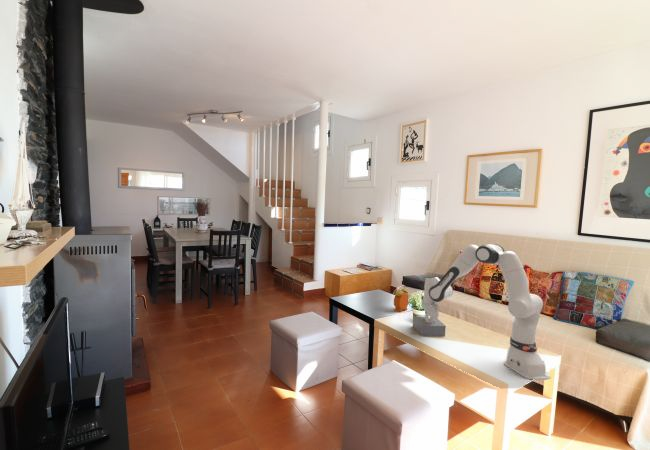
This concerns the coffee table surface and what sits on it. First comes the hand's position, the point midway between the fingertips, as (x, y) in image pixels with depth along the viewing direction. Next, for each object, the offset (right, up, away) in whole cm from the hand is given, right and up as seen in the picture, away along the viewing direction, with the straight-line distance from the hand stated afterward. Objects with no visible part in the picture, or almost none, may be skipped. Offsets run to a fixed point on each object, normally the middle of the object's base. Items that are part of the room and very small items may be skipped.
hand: (429, 319), depth 221 cm
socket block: (0, -8, +1) cm, 8 cm away
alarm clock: (-10, -5, +41) cm, 42 cm away
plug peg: (0, -8, +1) cm, 8 cm away
